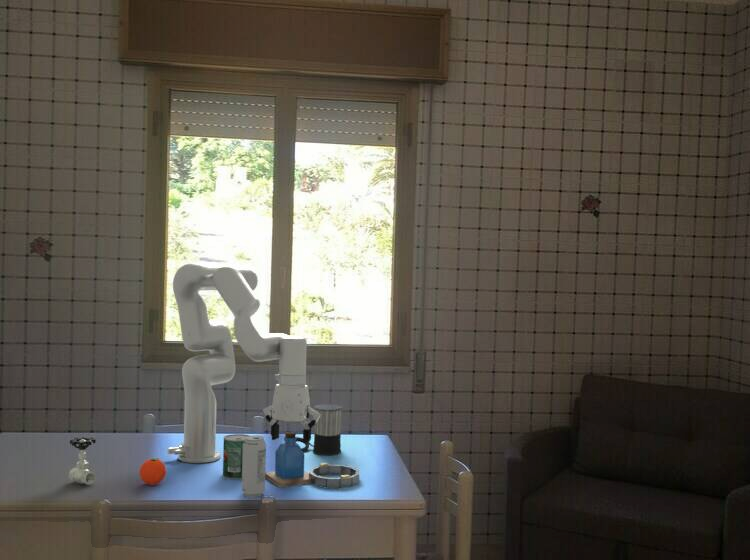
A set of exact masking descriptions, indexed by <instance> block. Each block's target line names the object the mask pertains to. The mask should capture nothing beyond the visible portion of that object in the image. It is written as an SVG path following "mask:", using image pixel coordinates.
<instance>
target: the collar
mask: <svg viewBox="0 0 750 560" xmlns="http://www.w3.org/2000/svg"><path fill="white" fill-rule="evenodd" d="M308 474H309V478H311V483H310V484H311V485H313V484H314V485H313V486H315V485H317V487H320V486H321V487H320V488H324V487H326V488H327V487H330V488H329V489H345V488H350V487H353V486H356V485H358V484H360V470H359V469H357V468H356V467H353V466H348V465H344V464H329V463H328V462H321V463H319V465H317V466H314V467H312V468H310V469H309V472H308ZM319 475H320V476H319ZM327 475H340V476H339V477H325V476H327Z"/></svg>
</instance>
